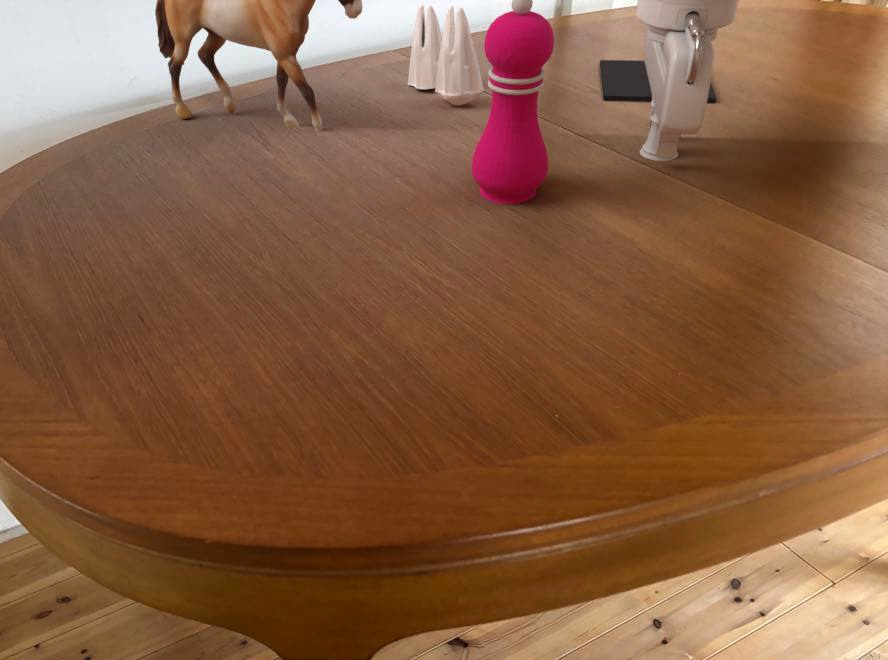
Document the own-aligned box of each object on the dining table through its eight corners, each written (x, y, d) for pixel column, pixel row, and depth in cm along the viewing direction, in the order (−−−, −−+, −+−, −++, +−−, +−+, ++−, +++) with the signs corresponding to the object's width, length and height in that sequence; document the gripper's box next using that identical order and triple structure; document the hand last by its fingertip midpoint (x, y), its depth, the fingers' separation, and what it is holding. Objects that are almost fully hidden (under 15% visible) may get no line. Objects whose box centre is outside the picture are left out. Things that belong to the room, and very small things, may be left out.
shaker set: (485, 106, 108) (490, 11, 101) (456, 114, 107) (459, 17, 100) (432, 78, 116) (434, -12, 109) (405, 85, 115) (405, -6, 108)
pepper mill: (454, 208, 88) (461, -6, 75) (503, 185, 91) (519, -24, 79) (508, 233, 84) (526, 10, 71) (558, 208, 87) (584, -9, 74)
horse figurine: (377, 136, 103) (372, -60, 90) (339, 161, 98) (328, -42, 85) (177, 92, 117) (148, -83, 104) (136, 112, 112) (100, -69, 99)
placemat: (701, 65, 116) (702, 61, 115) (715, 103, 106) (716, 98, 105) (599, 64, 118) (600, 59, 117) (603, 100, 108) (604, 95, 108)
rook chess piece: (658, 183, 90) (673, 106, 85) (624, 169, 93) (636, 94, 88) (686, 171, 92) (703, 94, 87) (652, 157, 95) (665, 83, 90)
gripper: (741, 33, 73) (706, 188, 82) (709, -31, 89) (682, 105, 98) (662, 32, 74) (635, 185, 83) (644, -30, 90) (623, 104, 99)
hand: (660, 141), depth 91 cm, fingers open, 5 cm apart
